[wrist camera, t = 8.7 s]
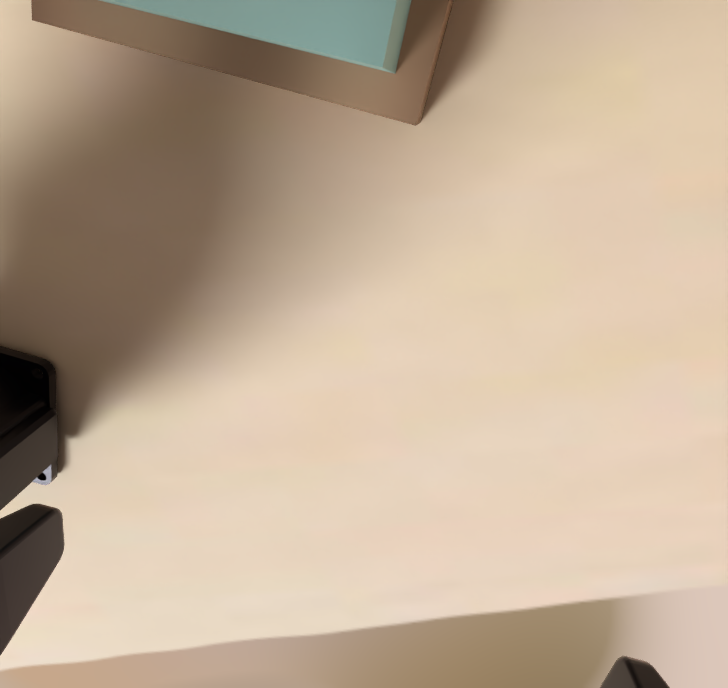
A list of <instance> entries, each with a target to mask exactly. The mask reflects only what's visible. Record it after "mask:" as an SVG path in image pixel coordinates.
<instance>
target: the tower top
mask: <svg viewBox="0 0 728 688" xmlns="http://www.w3.org/2000/svg"><path fill="white" fill-rule="evenodd" d="M99 1H103V2H107V3H111V4H115V5H120V6H124V7H128V8H132V9H136V10H140V11H144V12H148V13H152V14H156V15H160V16H164V17H168V18H172V19H176V20H180V21H184V22H188V23H192V24H196V25H200V26H204V27H208V28H212V29H216V30H221V31H225V32H229V33H233V34H237V35H241V36H245V37H249V38H253V39H257V40H261V41H265V42H269V43H273V44H277V45H281V46H285V47H289V48H293V49H297V50H301V51H305V52H309V53H313V54H317V55H321V56H326V57H330V58H334V59H338V60H342V61H346V62H350V63H354V64H358V65H362V66H366V67H370V68H374V69H378V70H382V71H386V72H390V73H394V74H395V73H396V68H397V64H398V59H399V54H400V50H401V45H402V41H403V36H404V32H405V27H406V23H407V18H408V14H409V9H410V5H411V0H99Z"/></svg>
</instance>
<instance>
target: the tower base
mask: <svg viewBox="0 0 728 688" xmlns="http://www.w3.org/2000/svg"><path fill="white" fill-rule="evenodd" d="M452 4H453V0H411V5H410V9H409V14H408V18H407V23H406V27H405V32H404V36H403V41H402V45H401V50H400V54H399V59H398V64H397V68H396V73H395V74H394V73H390V72H386V71H382V70H378V69H374V68H370V67H366V66H362V65H358V64H354V63H350V62H346V61H342V60H338V59H334V58H330V57H326V56H321V55H317V54H313V53H309V52H305V51H301V50H297V49H293V48H289V47H285V46H281V45H277V44H273V43H269V42H265V41H261V40H257V39H253V38H249V37H245V36H241V35H237V34H233V33H229V32H225V31H221V30H216V29H212V28H208V27H204V26H200V25H196V24H192V23H188V22H184V21H180V20H176V19H172V18H168V17H164V16H160V15H156V14H152V13H148V12H144V11H140V10H136V9H132V8H128V7H124V6H120V5H115V4H111V3H107V2H103V1H99V0H32V20H34V21H38V22H41V23H45V24H49V25H52V26H56V27H59V28H63V29H67V30H70V31H74V32H78V33H81V34H85V35H89V36H92V37H96V38H99V39H103V40H107V41H110V42H114V43H118V44H121V45H125V46H129V47H132V48H136V49H139V50H143V51H147V52H150V53H154V54H158V55H161V56H165V57H169V58H172V59H176V60H179V61H183V62H187V63H190V64H194V65H198V66H201V67H205V68H209V69H212V70H216V71H220V72H223V73H227V74H230V75H234V76H238V77H241V78H245V79H249V80H252V81H256V82H260V83H263V84H267V85H270V86H274V87H278V88H281V89H285V90H289V91H292V92H296V93H300V94H303V95H307V96H310V97H314V98H318V99H321V100H325V101H329V102H332V103H336V104H340V105H343V106H347V107H350V108H354V109H358V110H361V111H365V112H369V113H372V114H376V115H380V116H383V117H387V118H390V119H394V120H398V121H401V122H405V123H409V124H412V125H417V124H419V123H420V122H421V119H422V115H423V111H424V108H425V104H426V100H427V96H428V93H429V89H430V85H431V82H432V78H433V74H434V70H435V67H436V63H437V59H438V56H439V52H440V48H441V44H442V41H443V37H444V33H445V30H446V26H447V22H448V19H449V15H450V11H451V7H452Z"/></svg>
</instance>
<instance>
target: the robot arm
mask: <svg viewBox="0 0 728 688" xmlns="http://www.w3.org/2000/svg"><path fill="white" fill-rule="evenodd" d="M39 370H41V371H42V372H43V374H42V373H41V372H40V371H39ZM57 458H58V434H57V413H56V373H55V368H54V367H53V365H52V364H51V363H50V362H49V361H47V360H45V359H42V358H38V357H35V356H32V355H28V354H25V353H21V352H18V351H14V350H11V349H8V348H4V347H1V346H0V510H1V509H2V508H4V507H5V506H6V505H7V504H8V503H9V502H10V501H11V500H12V499H14V498H15V497H16V496H17V495H18V494H19V493H20V492H21V491H22V490H23V489H25V488H26V487H27V486H28V485H29V484H30V483H31V482H35V483H38V484H42V485H47V484H49V483H50V482H52V481H53V480H54V479H55V478H56V477H57ZM63 550H64V533H63V519H62V513H61V511H60V510H59V509H57V508H54V507H50V506H46V505H42V504H32V505H29V506H27V507H25V508H22V509H20V510H18V511H16V512H14V513H12V514H10V515H7V516H5V517H3V518H1V519H0V655H1V654H2V652H3V651H4V649H5V648H6V646H7V645H8V643H9V642H10V640H11V639H12V637H13V635H14V634H15V632H16V630H17V629H18V627H19V626H20V624H21V622H22V621H23V619H24V617H25V616H26V614H27V613H28V611H29V609H30V608H31V606H32V604H33V603H34V601H35V600H36V598H37V596H38V595H39V593H40V591H41V590H42V588H43V587H44V585H45V583H46V582H47V580H48V579H49V577H50V575H51V574H52V572H53V570H54V569H55V567H56V566H57V564H58V562H59V560H60V559H61V556H62V554H63ZM600 688H670V687H669V686H668V685H667V683H666V682H665V681H664V680H663V679H662V677H661V676H660V675H659V673H658V672H657V671H656V670H655V669H654V667H653V666H652V665H650V664H649V663H648V662H645V661H642V660H638V659H634V658H631V657H627V656H622V657H620V658H618V659H617V660H616V662H615V664H614V665H613V667H612V668H611V670H610V672H609V673H608V675H607V677H606V678H605V680H604V682H603V683H602V685H601V687H600Z"/></svg>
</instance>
